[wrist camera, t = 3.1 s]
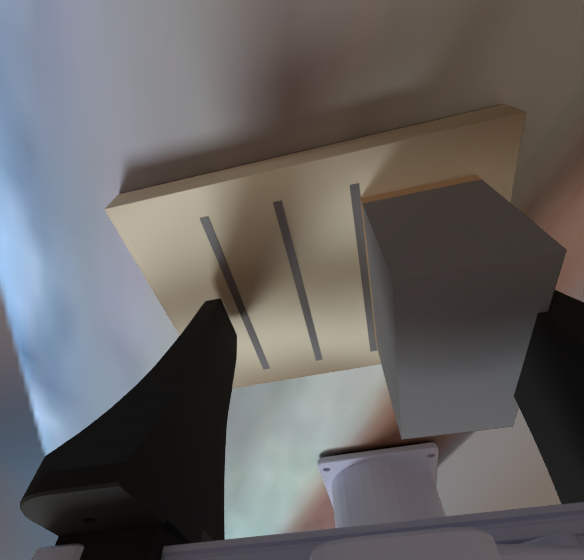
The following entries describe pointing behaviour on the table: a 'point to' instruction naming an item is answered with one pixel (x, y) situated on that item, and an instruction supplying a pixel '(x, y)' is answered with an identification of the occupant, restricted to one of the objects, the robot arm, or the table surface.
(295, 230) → the plank
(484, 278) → the block
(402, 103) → the table surface
